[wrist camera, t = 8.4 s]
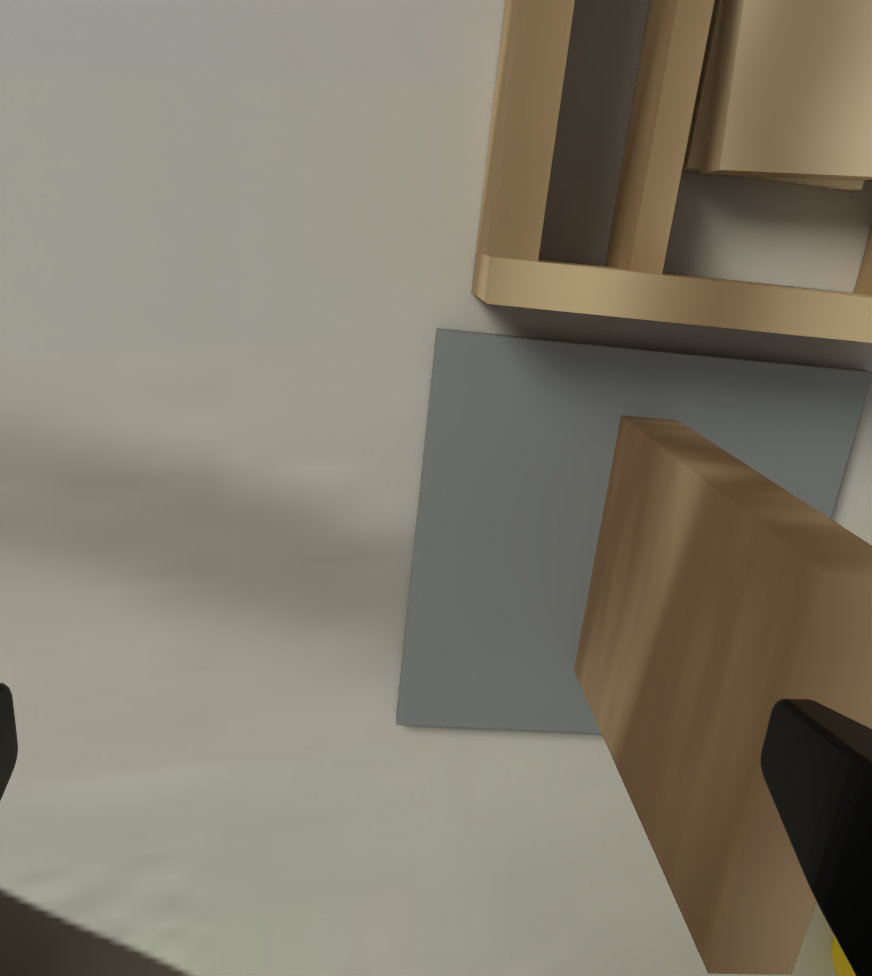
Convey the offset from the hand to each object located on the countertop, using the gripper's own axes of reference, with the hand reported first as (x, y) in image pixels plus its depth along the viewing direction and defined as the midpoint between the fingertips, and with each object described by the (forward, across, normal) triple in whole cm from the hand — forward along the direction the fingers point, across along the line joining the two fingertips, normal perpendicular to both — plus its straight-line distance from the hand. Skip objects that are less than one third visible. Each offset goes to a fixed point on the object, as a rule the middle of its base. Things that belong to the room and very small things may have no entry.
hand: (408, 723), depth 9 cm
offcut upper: (+12, -9, -11) cm, 19 cm away
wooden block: (+12, -7, +3) cm, 14 cm away
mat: (+13, -7, +3) cm, 15 cm away
